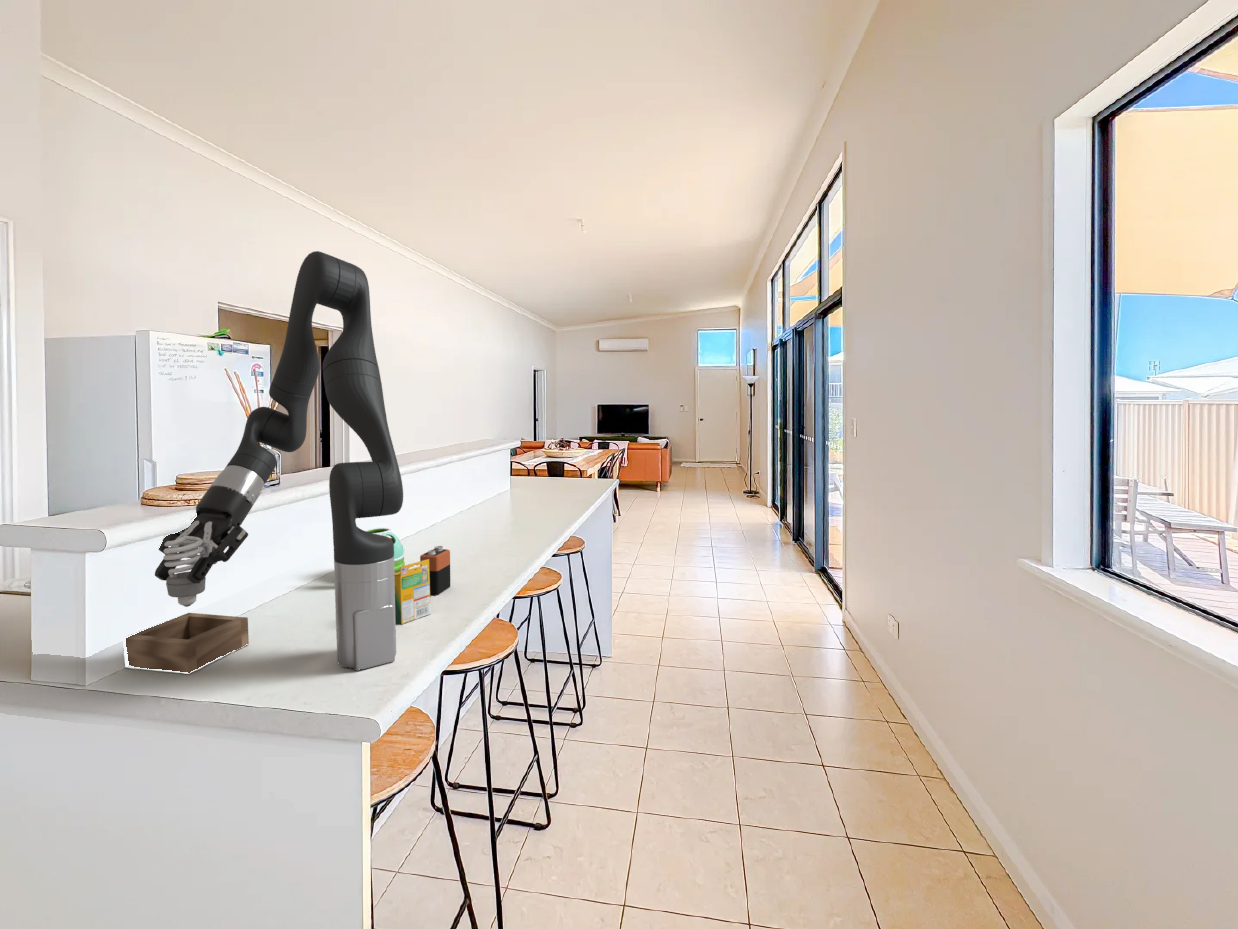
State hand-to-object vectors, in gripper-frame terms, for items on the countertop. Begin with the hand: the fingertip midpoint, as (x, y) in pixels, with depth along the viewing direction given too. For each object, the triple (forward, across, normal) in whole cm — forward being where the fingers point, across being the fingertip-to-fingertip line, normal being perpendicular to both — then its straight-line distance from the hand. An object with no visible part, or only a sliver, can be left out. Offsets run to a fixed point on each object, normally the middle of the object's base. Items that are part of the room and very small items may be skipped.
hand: (176, 579), depth 97 cm
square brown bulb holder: (+9, 0, +10) cm, 14 cm away
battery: (-20, +24, +40) cm, 51 cm away
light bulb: (+3, 0, +5) cm, 6 cm away
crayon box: (-8, +27, +28) cm, 40 cm away
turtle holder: (-24, +5, +45) cm, 51 cm away
